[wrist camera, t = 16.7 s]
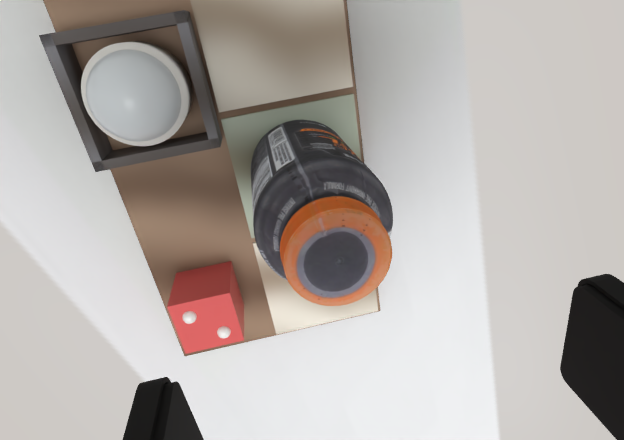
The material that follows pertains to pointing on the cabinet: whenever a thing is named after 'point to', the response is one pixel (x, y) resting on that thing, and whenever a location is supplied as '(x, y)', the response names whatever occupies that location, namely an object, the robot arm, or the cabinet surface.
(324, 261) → the pill bottle
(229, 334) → the red die
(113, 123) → the dome
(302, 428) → the cabinet surface
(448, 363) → the cabinet surface
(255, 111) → the game board
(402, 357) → the cabinet surface
